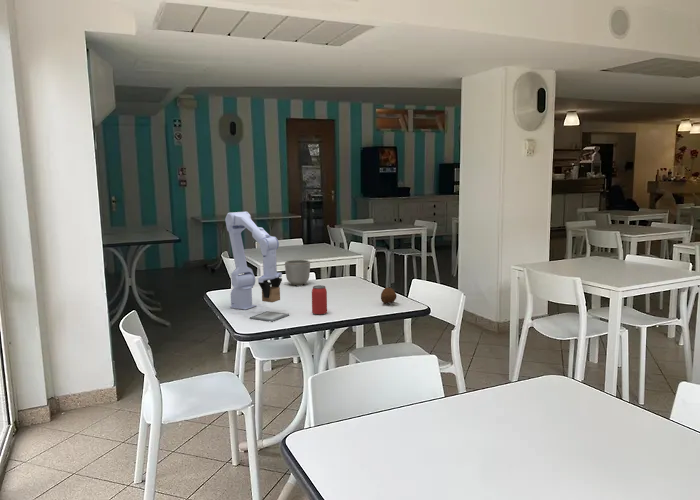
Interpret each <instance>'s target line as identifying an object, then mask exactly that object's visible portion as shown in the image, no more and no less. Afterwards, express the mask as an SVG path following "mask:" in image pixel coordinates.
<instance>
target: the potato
mask: <svg viewBox="0 0 700 500" xmlns="http://www.w3.org/2000/svg"><path fill="white" fill-rule="evenodd" d="M396 299H397V293H396V292H395V290H394V289H393V288H392V287H385V288H384V289H382V292H381V294H380V301H381V303H383V304H388V305H389V304H392V303H394V302H395V301H396Z"/></svg>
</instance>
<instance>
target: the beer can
mask: <svg viewBox="0 0 700 500" xmlns="http://www.w3.org/2000/svg"><path fill="white" fill-rule="evenodd" d="M327 291H328V290H327V288H326V286H325V285H322V284H321V285H320V284H318V285H314V286H312V289H311V313H312V314H313V315H317V316H318V315H319V316H321V315H326V314H327V313H328V294H327V293H328V292H327Z"/></svg>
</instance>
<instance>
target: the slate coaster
mask: <svg viewBox="0 0 700 500" xmlns="http://www.w3.org/2000/svg"><path fill="white" fill-rule="evenodd" d="M288 316H290V314H289V313H285V312H276V311H268V310H265V311H263V312H260V313H257V314H255V315H252V316H249V319H250V320H257V321H263V322H269V321H271V323H274V322H277V321H279V320H282V319H284V318H286V317H288ZM273 321H274V322H273Z"/></svg>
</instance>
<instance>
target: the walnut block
mask: <svg viewBox="0 0 700 500" xmlns="http://www.w3.org/2000/svg"><path fill="white" fill-rule="evenodd" d="M261 299H262V300H261V301H262V302H265V303H266V302H267V303H275V302H279V301H281V288H280V286H279V287H272V286H270V294H269V298H264V295H263V291H262V290H261Z"/></svg>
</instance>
